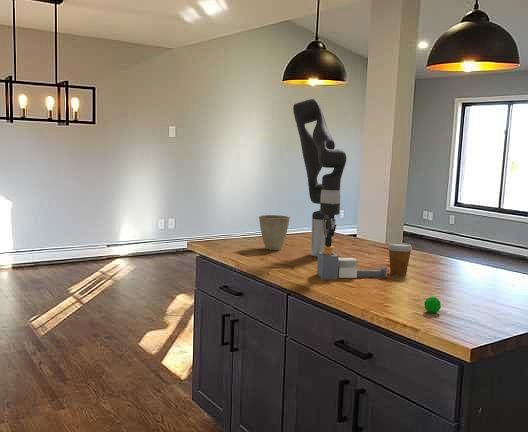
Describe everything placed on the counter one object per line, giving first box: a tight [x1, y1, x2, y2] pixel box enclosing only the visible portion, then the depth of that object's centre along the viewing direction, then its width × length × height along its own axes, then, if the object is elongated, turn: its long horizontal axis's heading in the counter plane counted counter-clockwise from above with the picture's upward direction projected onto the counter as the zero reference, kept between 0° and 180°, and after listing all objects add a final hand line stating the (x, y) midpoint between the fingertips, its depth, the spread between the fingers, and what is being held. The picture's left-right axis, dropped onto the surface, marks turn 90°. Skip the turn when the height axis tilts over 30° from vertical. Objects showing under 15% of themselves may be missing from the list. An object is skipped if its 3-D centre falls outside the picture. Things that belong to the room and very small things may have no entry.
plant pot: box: [258, 214, 291, 251], centre depth 275 cm, size 15×15×16 cm
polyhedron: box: [423, 296, 442, 314], centre depth 175 cm, size 5×5×5 cm
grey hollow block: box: [316, 251, 340, 280], centre depth 219 cm, size 9×6×9 cm, turn 7°
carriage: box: [338, 257, 358, 279], centre depth 220 cm, size 5×7×7 cm
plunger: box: [323, 245, 335, 255], centre depth 219 cm, size 4×4×5 cm
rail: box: [357, 265, 387, 279], centre depth 221 cm, size 3×20×4 cm, turn 97°
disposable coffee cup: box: [387, 242, 413, 276], centre depth 229 cm, size 10×10×12 cm
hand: (328, 246), depth 218 cm, fingers closed
